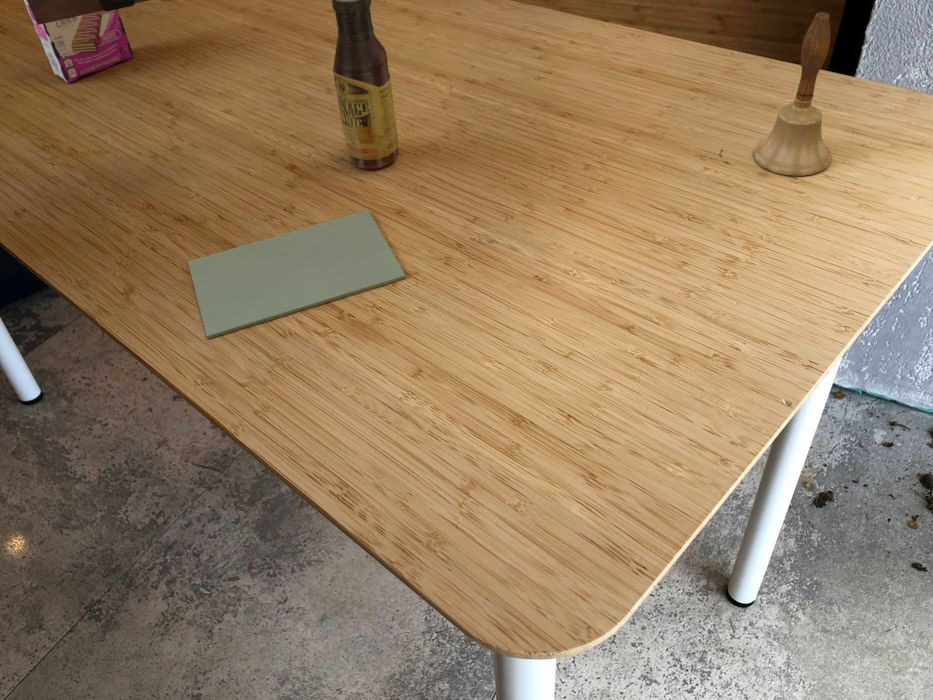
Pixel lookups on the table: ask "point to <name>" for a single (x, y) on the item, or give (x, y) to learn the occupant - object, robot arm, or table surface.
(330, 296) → the mat
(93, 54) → the candy bar box
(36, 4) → the dark brown bar
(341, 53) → the sauce bottle
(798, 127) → the hand bell
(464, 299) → the table surface
